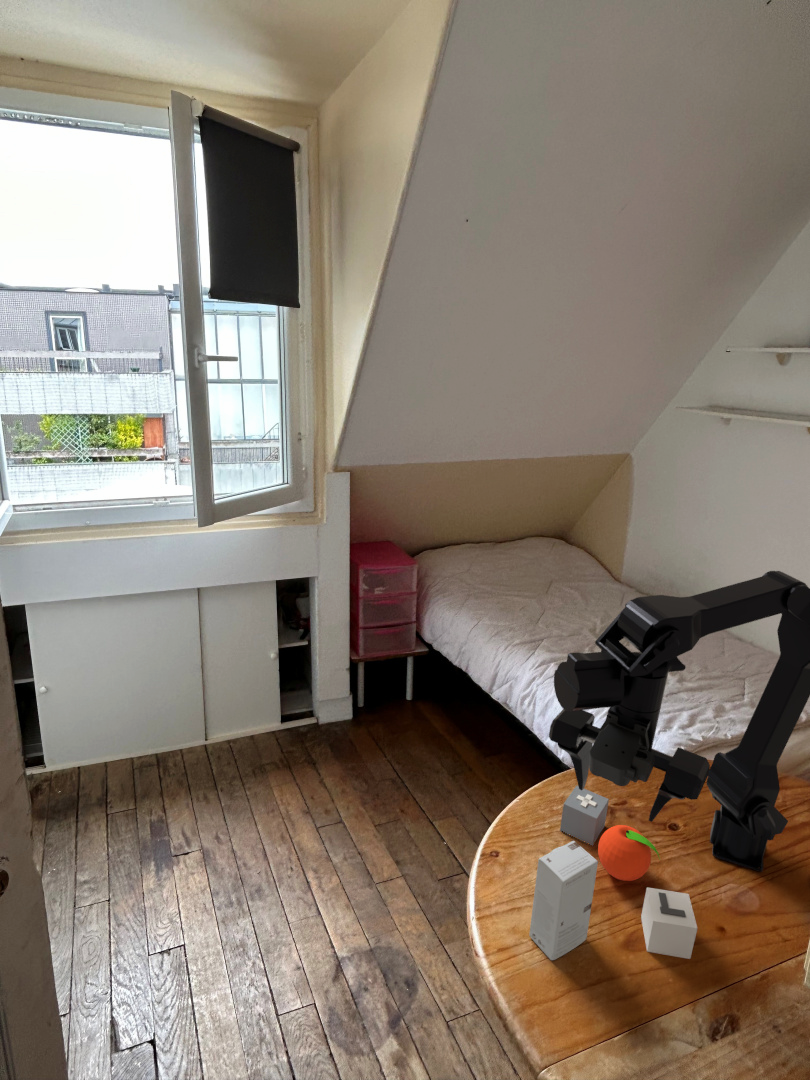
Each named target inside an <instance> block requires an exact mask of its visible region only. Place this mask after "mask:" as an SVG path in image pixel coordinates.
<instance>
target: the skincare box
mask: <svg viewBox="0 0 810 1080" xmlns="http://www.w3.org/2000/svg"><path fill="white" fill-rule="evenodd" d="M598 865H599V861H598V859H596V858H595V857H594V856H592V855H591V854H590V852H588V851H586V849H584V848H583V847H582V846H581V845H580V844H578V843H577V842H576V841H575V840H572V841H570V842H568V843H566V844H564V845H562V846H561V845H560V846H559V847H556V848H554V849H552V850H551V851H550V852H549V853H547V854H544V855H543V856H541V857H539V858H538V860H537V868H536V878H535V886H534V895H533V901H532V903H533V904H532V909H531V918H530V924H529V925H530V927H529V937H530V938H531V940H532V941H533V942H534V943H535V945H537V946H538V948H539V949H540V950H541V951H542V952H543V953H544V955H545V956H546V957H547V958H548V959H549V960H550V961H555V960H557V959H558V958H561V957H562V956H565V955H566V954H567V953H569V952H570V951H572V950H574V949H576V948H577V947H578V946H579V945H581V944H582V943H584V942H585V941H586V940H587V938H588V930H589V924H590V919H591V918H590V916H591V910H592V906H593V905H592V904H593V897H594V890H595V884H596V877H597V869H598Z"/></svg>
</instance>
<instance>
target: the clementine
mask: <svg viewBox="0 0 810 1080" xmlns="http://www.w3.org/2000/svg"><path fill="white" fill-rule="evenodd" d="M597 847H598V848H597V854H598V858H599V860H600V861H599V862H600V863H601V865H602V867H603V868H604V870H606V872H607V873H608V874H609V875H610V876H612V877H613V878H615V879H617V880H619V881H623V882H633V881H635V880H638V879H641V878H642V877H643V876H644V875H646V873H647V872H648V870H649V868H650V865H651V863H652V851H651V849H652V850H653V851H654V852H655V853H656V854H657V857H658V859H659V860H661V858H660V854H659V851H658V850H657V848H656V846H655V845H654V844H652V842H651V841H650V840H649V839H648V838H646V837H645V836H644V835H643V834H642V832H641V831H639V830H638V829H636V828H634V827H632V826H629V825H626V824H625V825H624V824H617V825H614V826H612V827H610V828H608V829H606V830H605V831H604V832H603V833H602V835H601V836H600V838H599V840H598V846H597Z"/></svg>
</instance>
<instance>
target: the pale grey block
mask: <svg viewBox="0 0 810 1080" xmlns="http://www.w3.org/2000/svg"><path fill="white" fill-rule="evenodd" d="M691 902H692V901H691V899H690V894H689V893H685V892H679V891H672V890H666V889H661V888H653V887H646V889H645V895H644V900H643V905H642V910H641V916H640V918H641V925H642V929H643V930H642V931H643V935H644V942H645V948H646V952H649V953H654V954H660V955H666V956H671V957H674V958H675V957H676V958H682V959H686V960H687V959H689V960H690V959H691V958H692V953H693V949H694V944H695V941H696V936H697V933H698V925H697V921H696V917H695V914H694V909H693V907H692V903H691Z"/></svg>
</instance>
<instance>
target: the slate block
mask: <svg viewBox="0 0 810 1080" xmlns="http://www.w3.org/2000/svg"><path fill="white" fill-rule="evenodd" d="M609 801H610V799H609V798H607V797H605V796H602V795H600V794H598V793H595V792H593V791H592V790H589V789H586V788H584V789H583V790H580V789H579V786H578V785H576V786H575V787H574V788H573V790H572V791H571V793H570V794H569V796H568V797H567V798H566V799H565V801H564V803H563V806H562V812H561V813H562V814H561V820H560V828H559V831H560V832H562V831H563V832H562V833H564V832H565V833H564V834H566V833H567V834H566V835H568V834H570V835H571V836H570V835H569V836H570V837H572V836H573V837H572V838H574V837H576V838H578V839H580V840H579V841H581V840H582V841H581V842H583V841H585V842H586V843H585V842H584V843H585V844H587V843H589V844H590V845H589V844H588V845H589V846H591V845H592V847H593V846H594V845H595V843H596V842H597V839H598V838H599V836H600V834H601V832H602V831H603V830H604V828H605V826H606V819H607V813H608V807H609ZM576 838H575V839H576ZM578 839H577V840H578ZM594 842H595V843H594Z"/></svg>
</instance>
